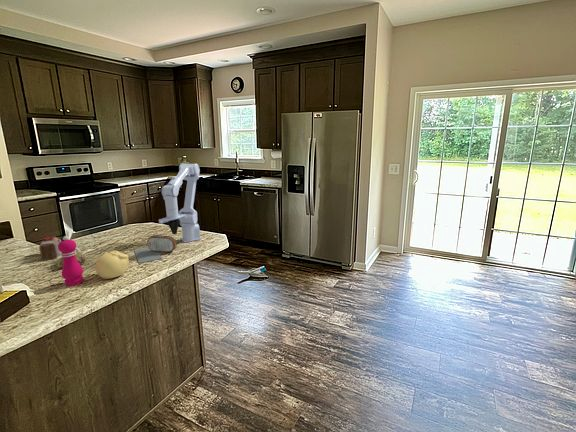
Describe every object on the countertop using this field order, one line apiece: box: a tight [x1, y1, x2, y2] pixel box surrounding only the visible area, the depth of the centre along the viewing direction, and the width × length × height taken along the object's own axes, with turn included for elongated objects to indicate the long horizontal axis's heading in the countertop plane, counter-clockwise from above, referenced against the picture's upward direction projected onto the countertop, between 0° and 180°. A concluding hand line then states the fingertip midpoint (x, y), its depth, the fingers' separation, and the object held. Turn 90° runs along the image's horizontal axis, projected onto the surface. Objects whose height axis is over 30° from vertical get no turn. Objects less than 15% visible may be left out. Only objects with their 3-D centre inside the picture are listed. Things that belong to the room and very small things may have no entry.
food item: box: [38, 236, 62, 261], centre depth 153 cm, size 14×8×10 cm, turn 31°
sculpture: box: [94, 250, 130, 280], centre depth 129 cm, size 11×12×11 cm
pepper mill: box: [58, 235, 85, 287], centre depth 122 cm, size 7×7×20 cm
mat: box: [133, 247, 163, 264], centre depth 154 cm, size 10×20×1 cm, turn 32°
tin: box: [146, 234, 178, 253], centre depth 156 cm, size 15×3×8 cm, turn 84°
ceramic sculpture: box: [56, 246, 86, 268], centre depth 143 cm, size 11×9×15 cm
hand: (174, 233), depth 159 cm, fingers closed
